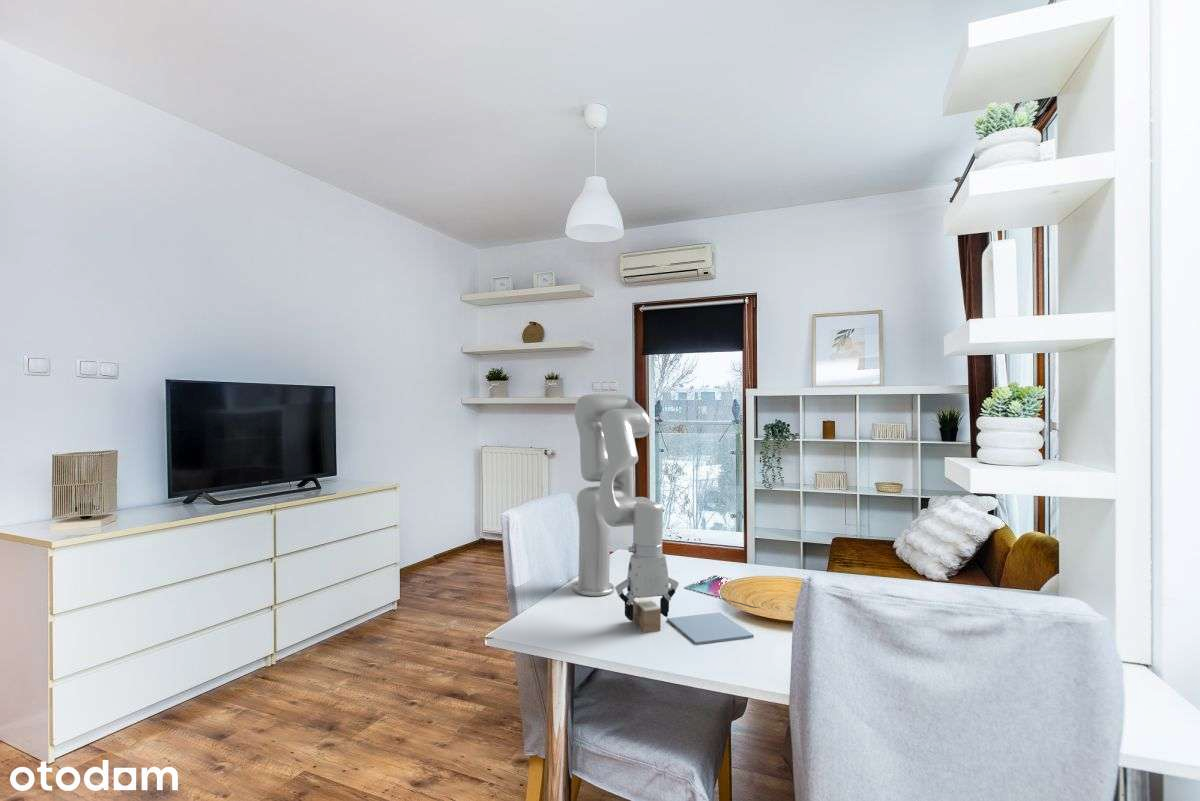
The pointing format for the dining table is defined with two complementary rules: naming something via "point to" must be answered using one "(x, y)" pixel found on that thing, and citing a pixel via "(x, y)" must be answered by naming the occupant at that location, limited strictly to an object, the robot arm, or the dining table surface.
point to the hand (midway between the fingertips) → (646, 616)
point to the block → (646, 615)
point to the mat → (709, 628)
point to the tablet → (708, 586)
